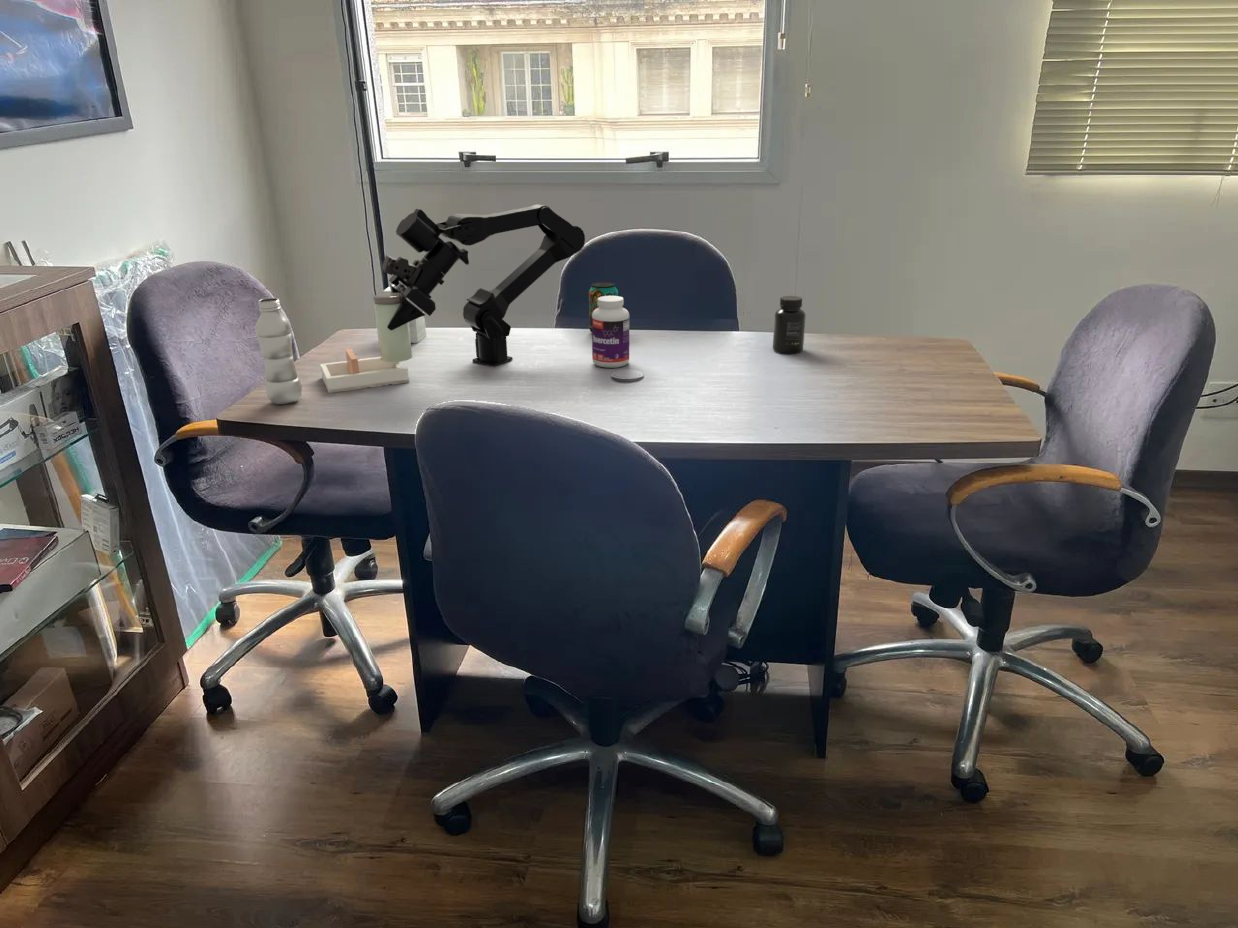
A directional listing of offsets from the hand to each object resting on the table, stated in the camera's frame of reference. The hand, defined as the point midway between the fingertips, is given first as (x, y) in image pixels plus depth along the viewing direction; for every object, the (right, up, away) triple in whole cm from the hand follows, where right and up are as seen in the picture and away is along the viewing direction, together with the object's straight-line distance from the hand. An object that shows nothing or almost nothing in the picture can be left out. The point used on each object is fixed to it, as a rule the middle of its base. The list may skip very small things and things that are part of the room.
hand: (385, 325), depth 182 cm
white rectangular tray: (-5, -11, +2) cm, 12 cm away
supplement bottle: (+86, -3, +19) cm, 88 cm away
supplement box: (-3, +1, +32) cm, 32 cm away
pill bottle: (+46, -7, +11) cm, 48 cm away
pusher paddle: (-7, -11, +1) cm, 13 cm away
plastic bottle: (-17, -17, -10) cm, 26 cm away
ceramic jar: (+1, -6, +3) cm, 7 cm away
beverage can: (+44, +3, +35) cm, 57 cm away
